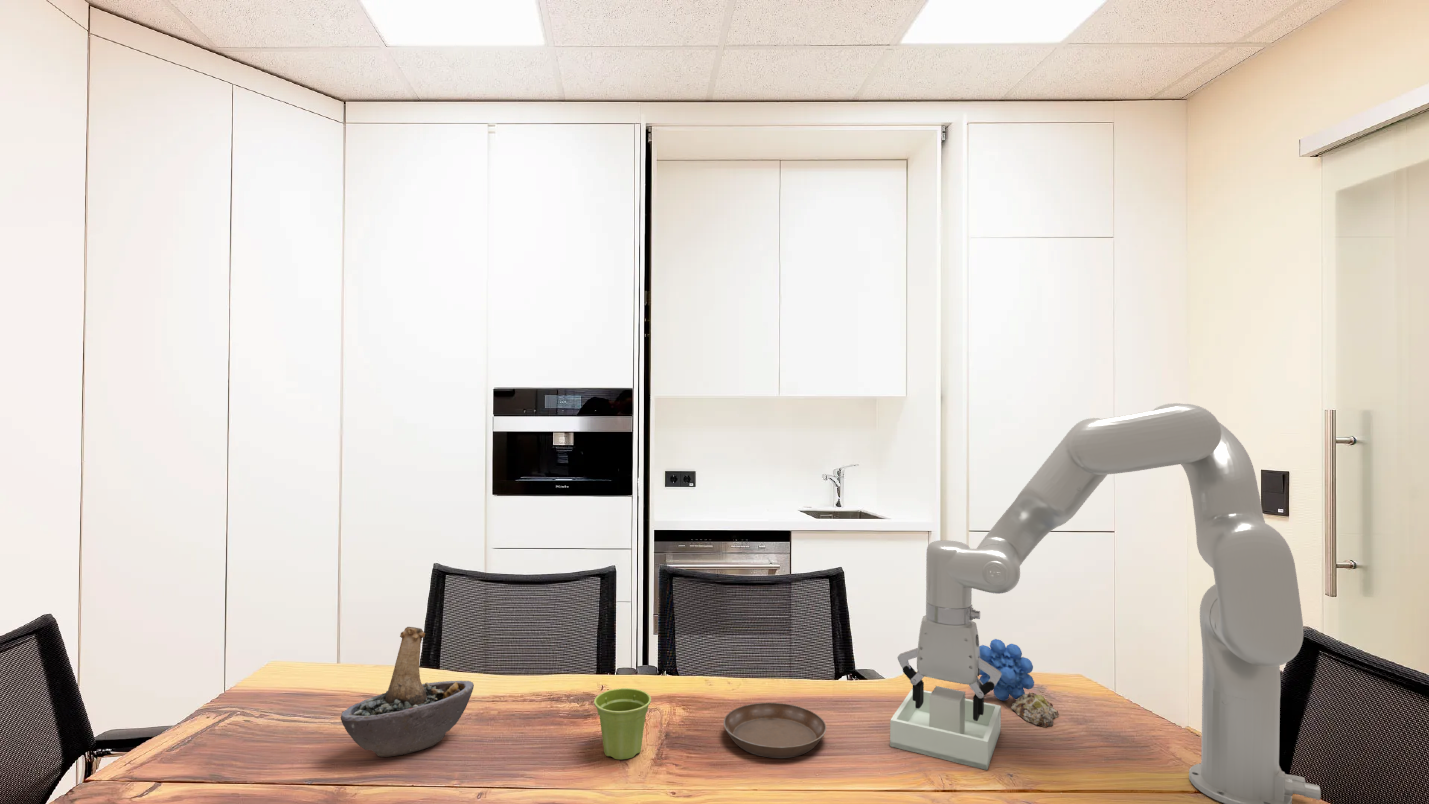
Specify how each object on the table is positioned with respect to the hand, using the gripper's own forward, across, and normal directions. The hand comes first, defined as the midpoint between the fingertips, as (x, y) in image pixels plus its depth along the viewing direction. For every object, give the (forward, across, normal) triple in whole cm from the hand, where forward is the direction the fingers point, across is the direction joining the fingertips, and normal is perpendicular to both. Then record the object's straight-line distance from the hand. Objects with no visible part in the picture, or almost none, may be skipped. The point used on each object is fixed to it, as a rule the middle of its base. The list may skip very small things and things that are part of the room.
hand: (947, 711), depth 125 cm
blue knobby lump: (+5, -7, -21) cm, 23 cm away
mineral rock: (+5, -12, -18) cm, 23 cm away
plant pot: (+5, +46, +32) cm, 56 cm away
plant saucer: (+5, +26, +15) cm, 31 cm away
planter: (+5, +77, +49) cm, 91 cm away
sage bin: (+5, 0, 0) cm, 5 cm away
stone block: (+4, 0, 0) cm, 4 cm away
